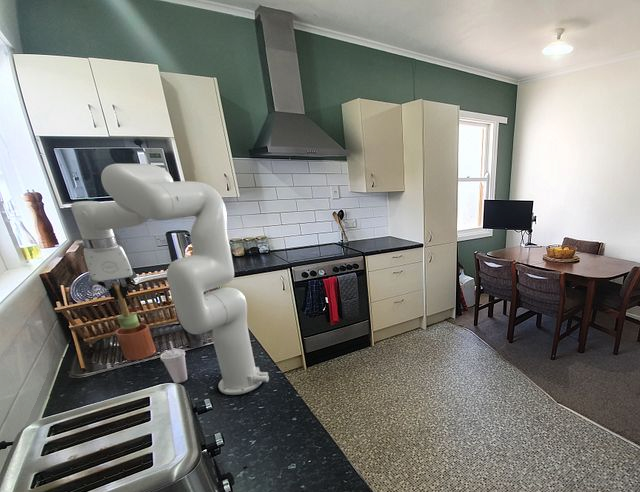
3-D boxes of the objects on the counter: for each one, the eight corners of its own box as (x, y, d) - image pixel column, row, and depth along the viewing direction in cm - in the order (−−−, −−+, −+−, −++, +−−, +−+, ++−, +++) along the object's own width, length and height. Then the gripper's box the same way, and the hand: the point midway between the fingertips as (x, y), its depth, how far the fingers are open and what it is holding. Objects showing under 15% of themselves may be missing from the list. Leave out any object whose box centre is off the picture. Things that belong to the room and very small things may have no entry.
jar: (162, 348, 128) (154, 323, 124) (144, 360, 120) (134, 335, 116) (137, 347, 128) (128, 323, 124) (117, 359, 120) (107, 334, 116)
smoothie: (180, 386, 107) (168, 347, 101) (163, 383, 108) (149, 344, 103) (197, 375, 113) (186, 337, 107) (180, 372, 114) (168, 335, 108)
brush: (143, 323, 122) (128, 280, 115) (132, 329, 117) (116, 285, 111) (128, 322, 122) (113, 279, 115) (117, 329, 117) (100, 284, 111)
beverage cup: (211, 343, 133) (198, 294, 124) (191, 351, 127) (176, 300, 119) (201, 338, 136) (188, 290, 128) (181, 345, 130) (166, 295, 122)
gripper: (66, 248, 100) (89, 307, 108) (134, 242, 110) (151, 296, 118) (65, 244, 105) (87, 300, 112) (131, 238, 115) (147, 290, 123)
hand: (120, 297), depth 115 cm, fingers closed on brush
